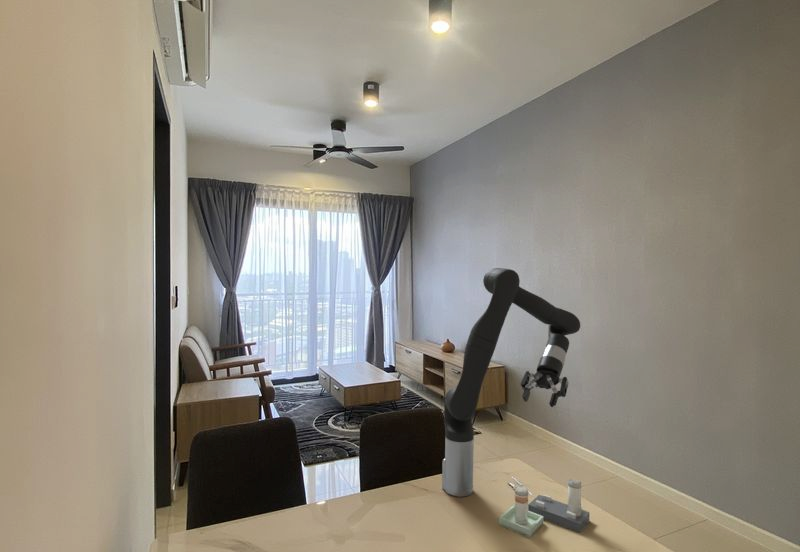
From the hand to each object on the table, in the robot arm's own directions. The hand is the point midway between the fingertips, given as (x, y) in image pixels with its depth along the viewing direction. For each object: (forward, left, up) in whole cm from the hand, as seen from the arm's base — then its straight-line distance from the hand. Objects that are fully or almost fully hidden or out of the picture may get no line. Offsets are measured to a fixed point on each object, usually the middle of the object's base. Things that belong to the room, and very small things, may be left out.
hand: (537, 402), depth 135 cm
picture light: (-9, +5, -31) cm, 33 cm away
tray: (+2, -16, -31) cm, 34 cm away
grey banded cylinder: (+2, -16, -30) cm, 34 cm away
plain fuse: (+13, -5, -28) cm, 31 cm away
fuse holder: (+8, -5, -31) cm, 32 cm away
